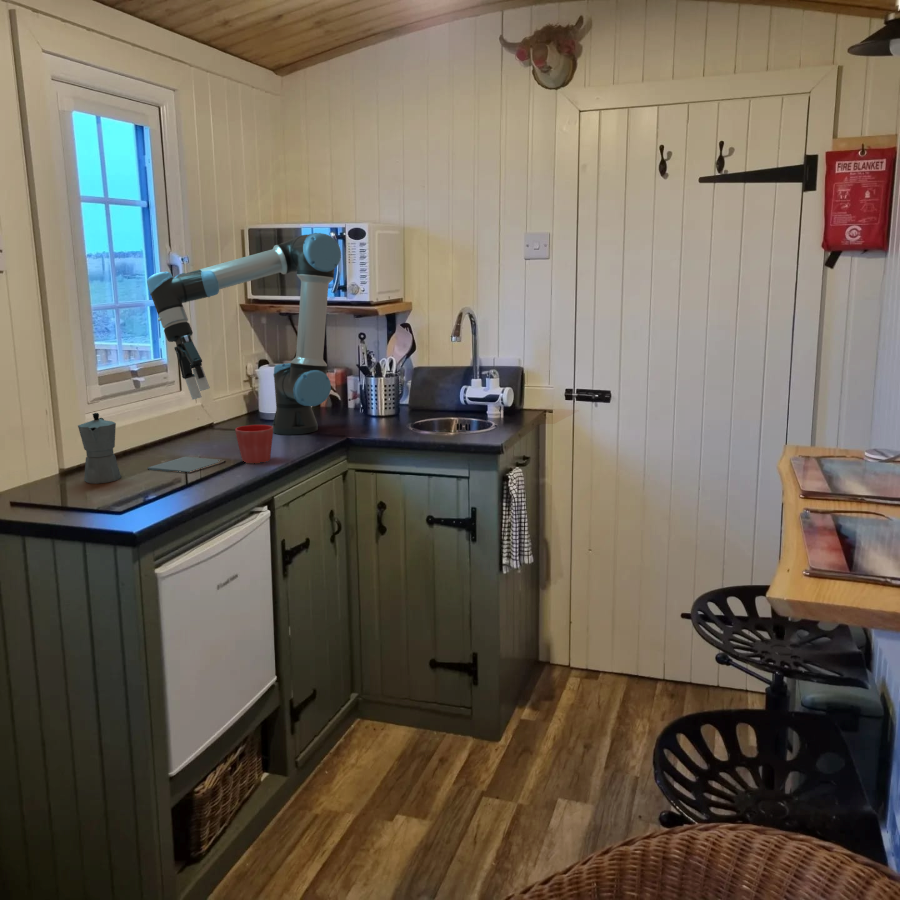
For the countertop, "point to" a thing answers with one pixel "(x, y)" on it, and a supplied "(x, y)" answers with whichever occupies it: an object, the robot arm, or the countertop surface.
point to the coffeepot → (99, 450)
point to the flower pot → (255, 442)
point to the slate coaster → (184, 464)
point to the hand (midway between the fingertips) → (201, 394)
